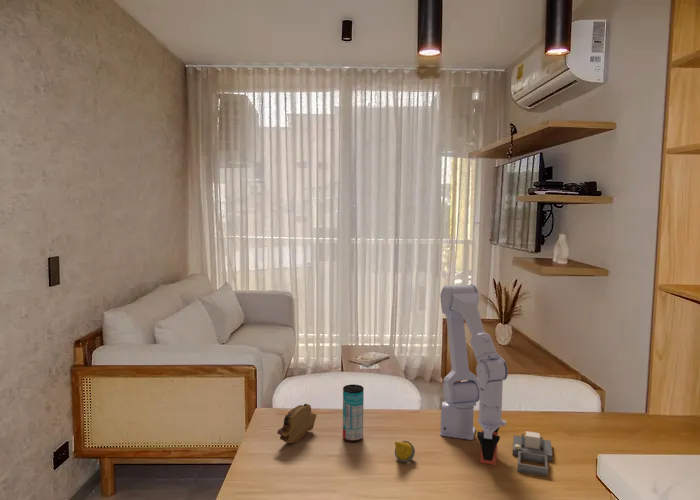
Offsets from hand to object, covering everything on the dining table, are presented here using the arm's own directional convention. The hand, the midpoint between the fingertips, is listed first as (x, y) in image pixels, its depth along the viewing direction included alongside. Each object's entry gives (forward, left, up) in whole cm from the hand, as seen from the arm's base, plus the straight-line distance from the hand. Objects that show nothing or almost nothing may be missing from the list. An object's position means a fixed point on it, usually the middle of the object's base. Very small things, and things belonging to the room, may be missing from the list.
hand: (488, 452), depth 137 cm
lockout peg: (0, 0, -2) cm, 2 cm away
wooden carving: (-53, -6, -2) cm, 53 cm away
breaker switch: (+11, +9, 0) cm, 14 cm away
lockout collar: (+11, 0, -2) cm, 11 cm away
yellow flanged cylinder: (-21, -8, -2) cm, 23 cm away
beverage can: (-38, 0, -2) cm, 38 cm away
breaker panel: (+11, +10, -2) cm, 15 cm away
